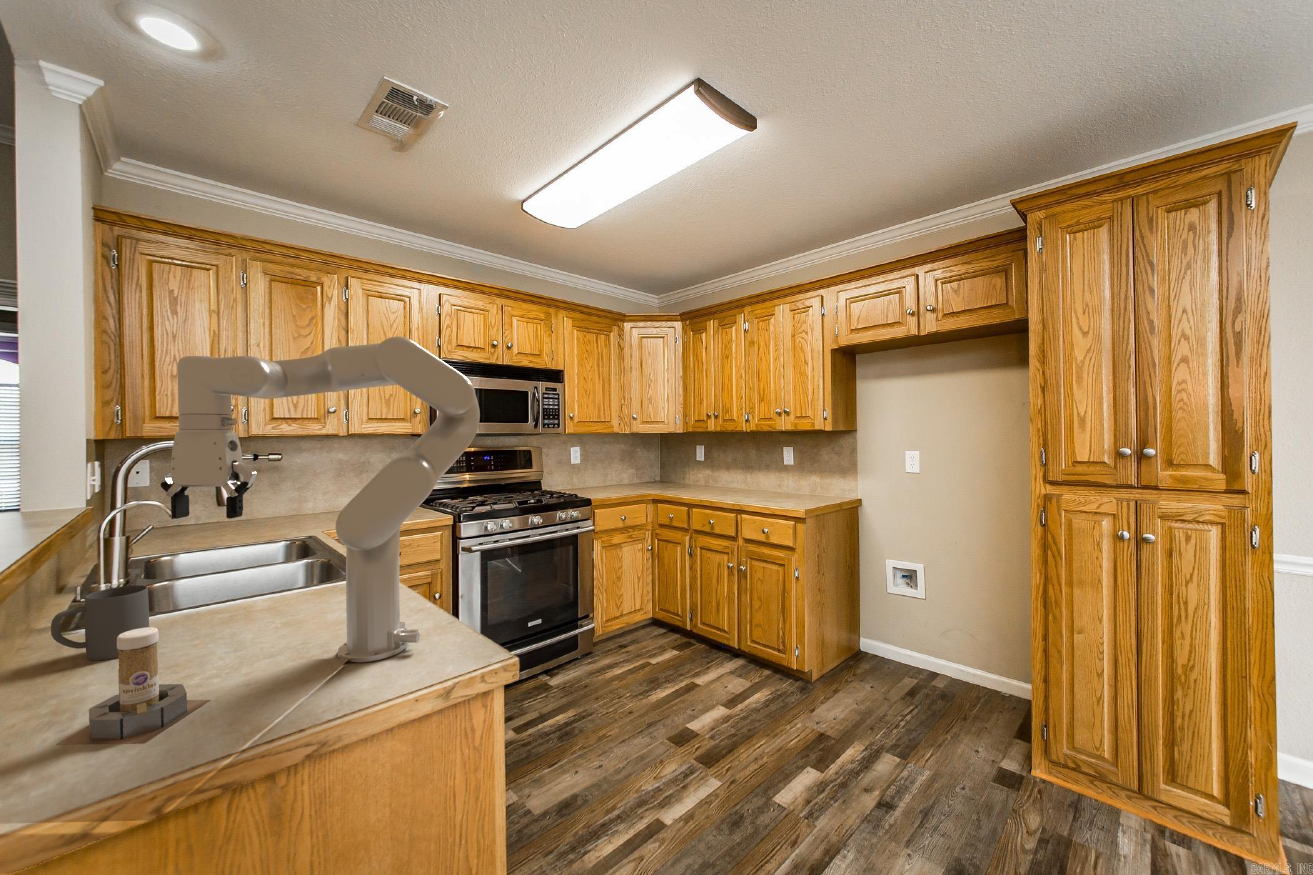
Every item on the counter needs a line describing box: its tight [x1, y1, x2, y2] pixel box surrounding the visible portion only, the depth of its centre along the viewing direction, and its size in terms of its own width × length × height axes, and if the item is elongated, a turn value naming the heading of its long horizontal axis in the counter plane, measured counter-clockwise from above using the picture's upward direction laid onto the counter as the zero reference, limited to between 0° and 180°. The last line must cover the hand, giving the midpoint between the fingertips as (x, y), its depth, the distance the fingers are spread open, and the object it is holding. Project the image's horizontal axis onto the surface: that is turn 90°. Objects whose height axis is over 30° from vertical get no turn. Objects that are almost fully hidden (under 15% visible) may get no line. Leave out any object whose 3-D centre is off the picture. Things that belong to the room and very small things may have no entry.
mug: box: [50, 584, 150, 661], centre depth 108 cm, size 14×9×12 cm
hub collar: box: [88, 683, 188, 741], centre depth 83 cm, size 10×10×4 cm
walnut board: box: [56, 699, 212, 746], centre depth 83 cm, size 12×12×1 cm
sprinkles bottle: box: [117, 626, 160, 712], centre depth 83 cm, size 5×5×13 cm
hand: (207, 517), depth 101 cm, fingers open, 9 cm apart
